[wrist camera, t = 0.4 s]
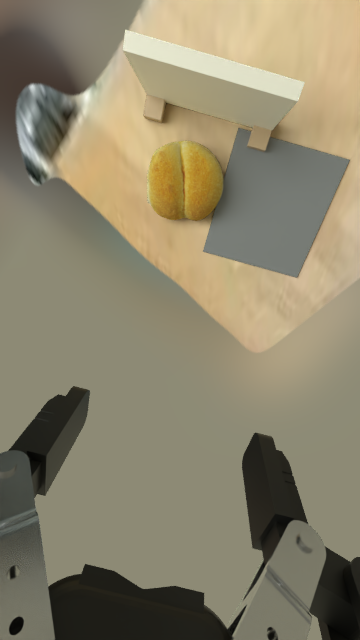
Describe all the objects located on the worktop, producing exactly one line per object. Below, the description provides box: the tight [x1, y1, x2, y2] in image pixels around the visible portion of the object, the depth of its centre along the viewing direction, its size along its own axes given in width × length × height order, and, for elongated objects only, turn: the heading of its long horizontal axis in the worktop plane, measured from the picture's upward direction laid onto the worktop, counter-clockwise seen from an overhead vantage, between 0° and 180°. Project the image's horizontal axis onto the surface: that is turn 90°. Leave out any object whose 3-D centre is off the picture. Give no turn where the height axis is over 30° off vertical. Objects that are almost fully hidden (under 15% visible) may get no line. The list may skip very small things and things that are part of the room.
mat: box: [203, 128, 350, 277], centre depth 33 cm, size 14×13×1 cm
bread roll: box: [147, 141, 223, 221], centre depth 31 cm, size 8×9×4 cm
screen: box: [123, 30, 305, 152], centre depth 25 cm, size 5×14×10 cm, turn 75°
